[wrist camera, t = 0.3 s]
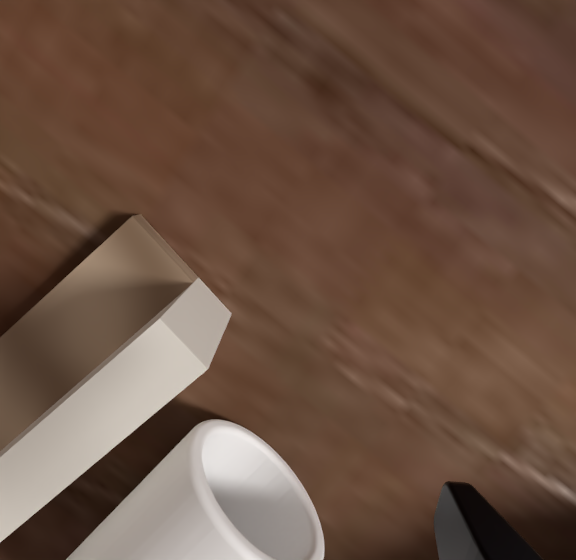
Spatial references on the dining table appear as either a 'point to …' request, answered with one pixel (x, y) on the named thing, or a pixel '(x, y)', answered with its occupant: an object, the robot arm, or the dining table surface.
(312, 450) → the dining table surface
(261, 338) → the dining table surface
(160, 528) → the mug
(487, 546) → the robot arm
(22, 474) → the screen
